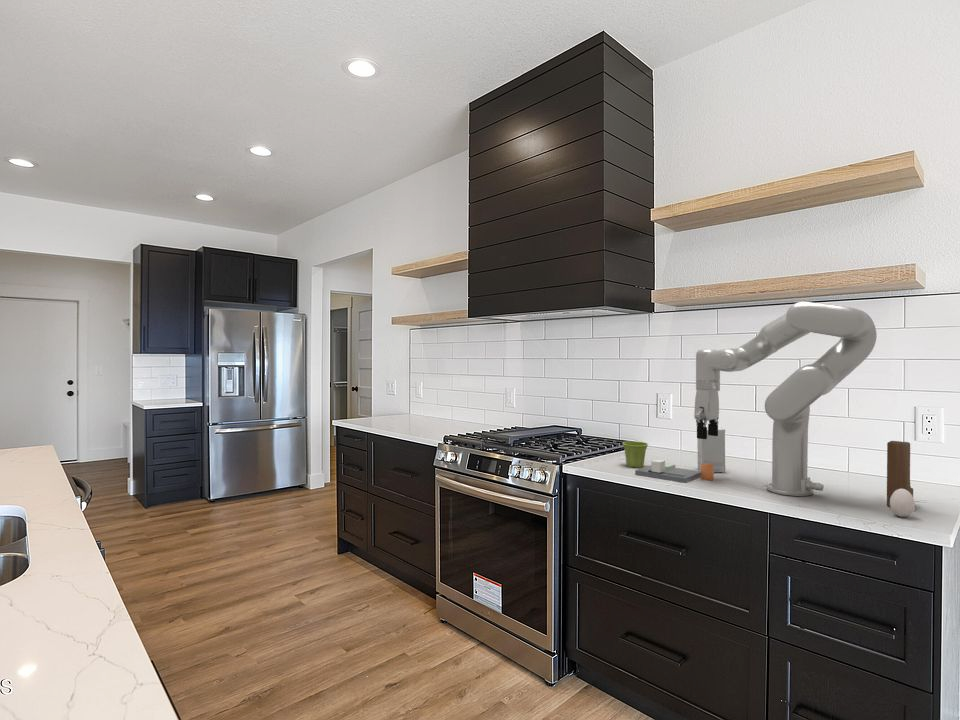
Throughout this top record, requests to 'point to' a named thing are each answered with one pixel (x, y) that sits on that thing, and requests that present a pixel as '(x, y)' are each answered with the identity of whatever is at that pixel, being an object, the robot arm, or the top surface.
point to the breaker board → (670, 474)
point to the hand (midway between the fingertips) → (707, 437)
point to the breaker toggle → (658, 466)
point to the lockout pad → (669, 466)
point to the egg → (902, 503)
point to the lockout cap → (707, 471)
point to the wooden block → (898, 468)
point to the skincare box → (712, 451)
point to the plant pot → (635, 453)
